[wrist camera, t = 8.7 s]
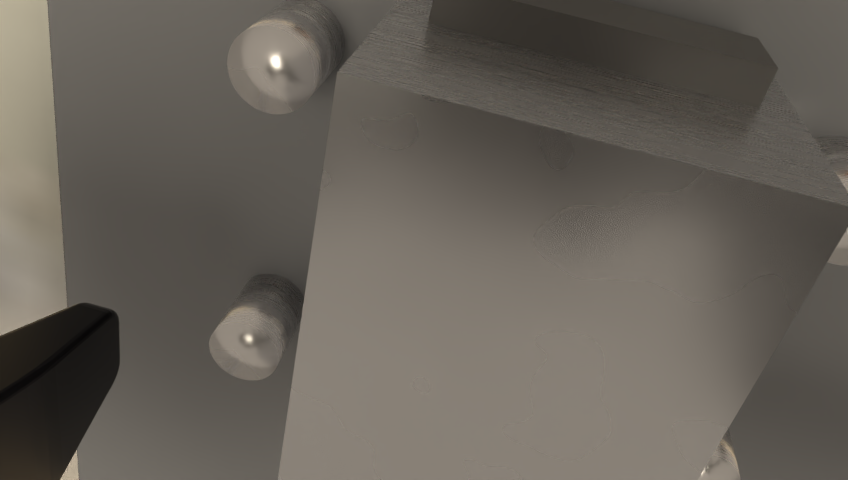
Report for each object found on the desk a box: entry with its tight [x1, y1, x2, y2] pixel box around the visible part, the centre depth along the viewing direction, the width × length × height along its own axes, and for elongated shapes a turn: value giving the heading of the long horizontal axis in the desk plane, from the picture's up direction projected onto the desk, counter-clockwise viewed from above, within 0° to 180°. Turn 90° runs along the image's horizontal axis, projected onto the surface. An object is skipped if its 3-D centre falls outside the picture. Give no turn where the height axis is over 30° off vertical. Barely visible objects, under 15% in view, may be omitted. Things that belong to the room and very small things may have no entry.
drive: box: [278, 0, 848, 480], centre depth 11 cm, size 5×8×4 cm, turn 168°
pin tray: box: [47, 0, 848, 480], centre depth 12 cm, size 16×20×2 cm
